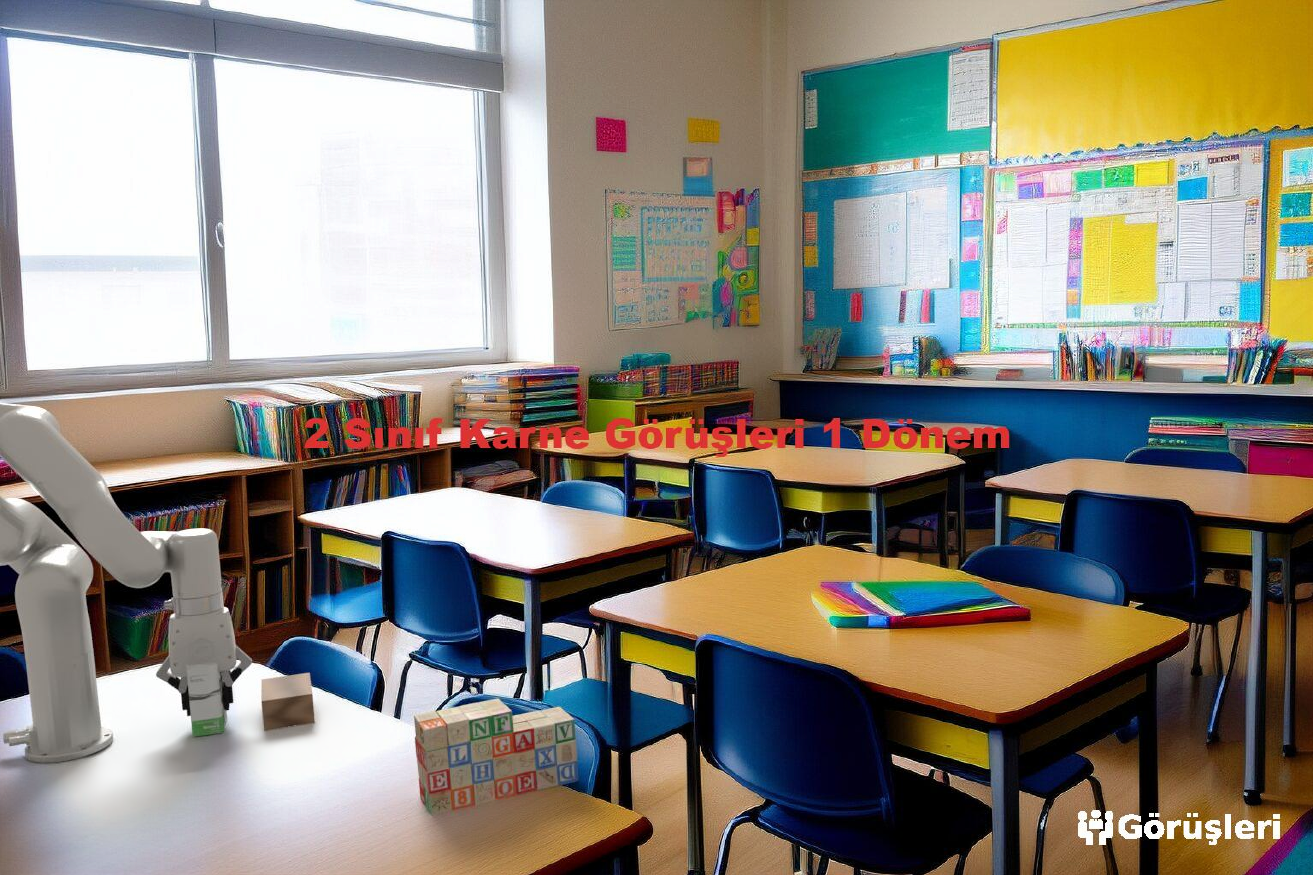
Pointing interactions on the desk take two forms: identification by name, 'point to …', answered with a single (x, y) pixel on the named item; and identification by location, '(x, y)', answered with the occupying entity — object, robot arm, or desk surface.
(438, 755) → the stack of blocks
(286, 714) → the walnut block
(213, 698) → the ink box
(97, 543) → the robot arm
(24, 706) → the desk surface
